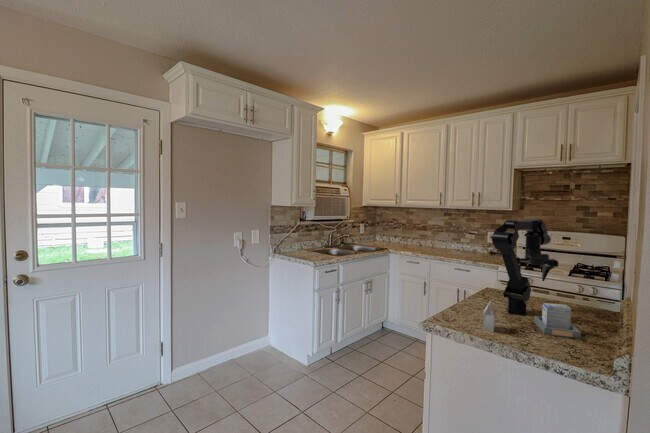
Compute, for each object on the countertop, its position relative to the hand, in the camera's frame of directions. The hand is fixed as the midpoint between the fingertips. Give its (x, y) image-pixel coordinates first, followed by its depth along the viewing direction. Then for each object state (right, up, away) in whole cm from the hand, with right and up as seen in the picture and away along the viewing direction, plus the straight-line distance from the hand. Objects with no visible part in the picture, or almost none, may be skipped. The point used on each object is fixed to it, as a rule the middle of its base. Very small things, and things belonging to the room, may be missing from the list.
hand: (531, 279), depth 145 cm
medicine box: (-7, -13, -25) cm, 29 cm away
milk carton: (-32, -14, -24) cm, 43 cm away
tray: (-7, -14, -25) cm, 30 cm away
